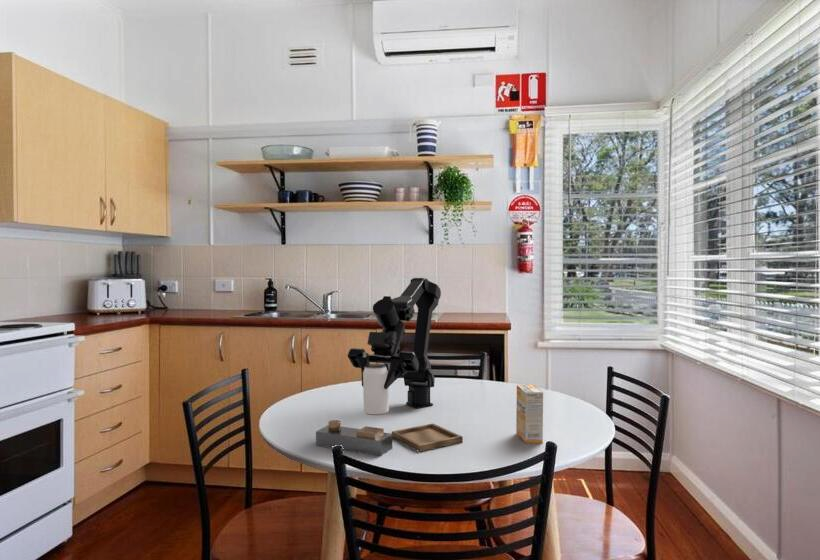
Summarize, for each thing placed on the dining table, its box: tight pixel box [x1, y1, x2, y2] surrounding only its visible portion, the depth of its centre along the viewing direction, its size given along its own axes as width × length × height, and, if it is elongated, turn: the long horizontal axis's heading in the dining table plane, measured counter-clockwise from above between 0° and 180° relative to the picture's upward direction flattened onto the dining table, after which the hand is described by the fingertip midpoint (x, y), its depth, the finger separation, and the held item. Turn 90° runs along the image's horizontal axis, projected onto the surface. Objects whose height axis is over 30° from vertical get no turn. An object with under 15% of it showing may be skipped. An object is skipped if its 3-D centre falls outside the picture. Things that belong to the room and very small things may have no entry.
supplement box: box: [515, 384, 544, 444], centre depth 137 cm, size 8×5×13 cm, turn 5°
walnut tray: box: [391, 423, 464, 453], centre depth 136 cm, size 13×13×2 cm
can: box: [362, 363, 390, 416], centre depth 137 cm, size 6×6×12 cm
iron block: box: [315, 419, 393, 457], centre depth 130 cm, size 18×6×6 cm, turn 67°
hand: (373, 387), depth 136 cm, fingers closed on can, 6 cm apart
